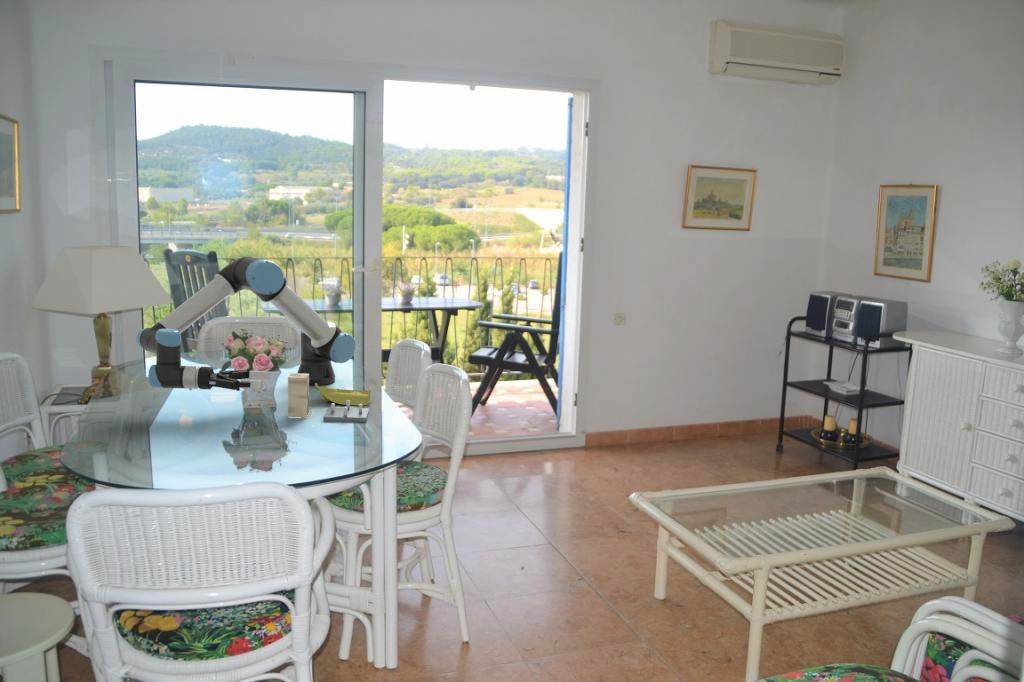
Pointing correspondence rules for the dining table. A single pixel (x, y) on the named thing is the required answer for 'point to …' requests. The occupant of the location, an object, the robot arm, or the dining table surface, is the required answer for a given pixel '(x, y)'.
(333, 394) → the plastic component
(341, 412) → the pin plate
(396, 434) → the dining table surface
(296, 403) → the birch block
